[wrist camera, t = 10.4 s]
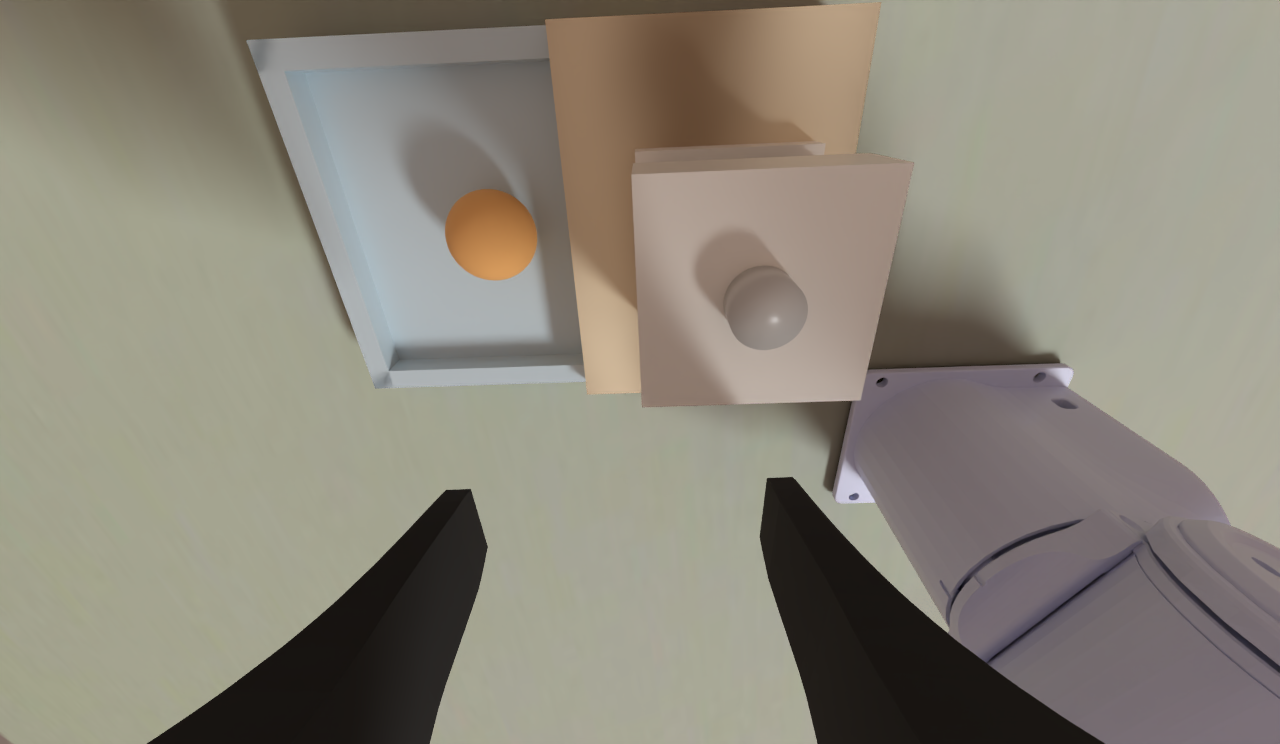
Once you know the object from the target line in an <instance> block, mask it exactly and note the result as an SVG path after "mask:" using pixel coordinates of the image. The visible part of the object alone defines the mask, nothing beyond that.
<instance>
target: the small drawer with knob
mask: <svg viewBox="0 0 1280 744" xmlns="http://www.w3.org/2000/svg"><path fill="white" fill-rule="evenodd" d="M825 145H826V143H821V142H817V141H803V142H781V143H758V144H735V145H713V146H690V147H667V148H644V149H635V163H633V167H632V173H631V179H632V201H633V222H634V244H635V266H636V288H637V310H638V332H639V353H640V375H641V397H642V407H666V406H698V405H729V404H761V403H793V402H825V401H857V400H861V396H862V392H863V387H864V383H865V379H866V374H867V370H868V365H869V361H870V356H871V352H872V348H873V343H874V339H875V334H876V330H877V325H878V321H879V317H880V312H881V308H882V303H883V299H884V294H885V290H886V286H887V281H888V277H889V272H890V268H891V264H892V259H893V255H894V250H895V246H896V241H897V237H898V233H899V228H900V224H901V219H902V215H903V210H904V206H905V202H906V197H907V193H908V188H909V184H910V179H911V175H912V171H913V166H914V162H910V161H905V160H901V159H896V158H891V157H887V156H882V155H877V154H873V153H858V154H835V155H824V152H825Z"/></svg>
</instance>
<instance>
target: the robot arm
mask: <svg viewBox="0 0 1280 744" xmlns="http://www.w3.org/2000/svg"><path fill="white" fill-rule="evenodd" d="M1038 373H1039V374H1038ZM1073 373H1074V371H1073V369H1072V368H1071V367H1069V366H1067V365H1066V364H1062V363H1055V364H1024V365H994V366H963V367H932V368H902V369H871V370H867V374H866V379H865V383H864V387H863V392H862V396H861V400H857V401H852V404H851V409H850V414H849V418H848V423H847V427H846V432H845V437H844V441H843V446H842V451H841V455H840V460H839V464H838V469H837V474H836V478H835V483H834V488H833V492H832V494H833V497H834V499H835V501H836V502H838V503H876V504H877V506H878V508H879V509H880V511H881V513H882V514H883V516H884V518H885V520H886V521H887V523H888V525H889V526H890V528H891V530H892V532H893V533H894V535H895V537H896V538H897V540H898V542H899V543H900V545H901V547H902V549H903V550H904V552H905V554H906V555H907V557H908V559H909V561H910V562H911V564H912V566H913V567H914V569H915V571H916V573H917V574H918V576H919V578H920V579H921V581H922V583H923V584H924V586H925V588H926V590H927V591H928V593H929V595H930V596H931V598H932V600H933V602H934V603H935V605H936V607H937V608H938V610H939V612H940V613H941V615H942V617H943V619H944V620H945V622H946V624H947V625H948V627H949V632H948V633H947V632H946V631H944V630H943V629H942V628H941V627H939V626H938V625H937V624H936V623H935V622H933V621H932V620H931V619H930V618H929V617H928V616H926V615H925V614H924V613H923V612H922V611H921V610H919V609H918V608H917V607H916V606H915V605H914V604H913V603H911V602H910V601H909V600H908V599H907V598H906V597H905V596H904V595H903V594H901V593H900V592H899V591H898V590H897V589H896V588H895V587H894V586H893V585H892V584H891V583H890V582H889V581H888V580H887V579H886V578H885V577H884V576H883V575H881V574H880V573H879V572H878V571H877V570H876V569H875V568H874V567H873V566H872V565H871V564H870V563H869V562H868V561H867V560H866V559H865V558H864V557H863V556H862V555H861V554H860V552H859V551H858V550H857V549H856V548H855V547H854V546H853V545H852V544H851V543H850V542H849V541H848V540H847V539H846V538H845V536H844V535H843V534H842V533H841V532H840V531H839V530H838V529H837V528H836V527H835V526H834V524H833V523H832V522H831V521H830V520H829V519H828V518H827V517H826V515H825V514H824V513H823V512H822V511H821V510H820V508H819V507H818V506H817V505H816V504H815V503H814V501H813V500H812V499H811V498H810V497H809V495H808V494H807V493H806V492H805V491H804V489H803V488H802V487H801V486H800V485H799V483H798V482H797V481H796V480H795V479H794V478H793V477H785V478H767V483H766V491H765V499H764V507H763V515H762V523H761V531H760V541H761V546H762V551H763V556H764V561H765V565H766V570H767V574H768V579H769V582H770V585H771V588H772V591H773V594H774V597H775V600H776V603H777V607H778V610H779V613H780V616H781V619H782V622H783V625H784V628H785V631H786V634H787V637H788V640H789V643H790V646H791V649H792V652H793V655H794V658H795V661H796V664H797V667H798V670H799V673H800V676H801V680H802V683H803V686H804V690H805V693H806V697H807V701H808V705H809V709H810V714H811V718H812V722H813V726H814V730H815V735H816V739H817V743H818V744H1280V549H1279V548H1277V547H1275V546H1274V545H1272V544H1270V543H1268V542H1266V541H1264V540H1262V539H1260V538H1258V537H1255V536H1253V535H1251V534H1249V533H1247V532H1245V531H1242V530H1240V529H1238V528H1235V527H1233V526H1231V525H1230V523H1229V520H1228V518H1227V516H1226V514H1225V512H1224V510H1223V508H1222V507H1221V505H1220V503H1219V502H1218V500H1217V499H1216V497H1215V496H1214V494H1213V493H1212V492H1211V491H1210V489H1209V488H1208V487H1207V486H1206V485H1205V483H1204V482H1203V481H1202V480H1201V479H1200V478H1199V477H1198V476H1196V475H1195V474H1194V473H1193V472H1192V471H1191V470H1189V469H1188V468H1187V467H1186V466H1184V465H1183V464H1181V463H1180V462H1178V461H1177V460H1175V459H1174V458H1172V457H1171V456H1169V455H1168V454H1166V453H1165V452H1163V451H1162V450H1160V449H1159V448H1157V447H1156V446H1154V445H1153V444H1151V443H1150V442H1148V441H1147V440H1145V439H1144V438H1142V437H1141V436H1139V435H1138V434H1136V433H1135V432H1133V431H1132V430H1130V429H1129V428H1127V427H1126V426H1124V425H1123V424H1121V423H1120V422H1118V421H1117V420H1115V419H1114V418H1112V417H1111V416H1109V415H1108V414H1106V413H1105V412H1103V411H1102V410H1100V409H1099V408H1097V407H1096V406H1094V405H1093V404H1091V403H1090V402H1088V401H1087V400H1085V399H1084V398H1082V397H1081V396H1079V395H1078V394H1076V393H1075V392H1073V391H1072V390H1070V389H1069V388H1067V387H1068V385H1069V383H1070V381H1071V379H1072V377H1073ZM1036 374H1038V375H1037V376H1036V377H1034V376H1035V375H1036ZM883 377H884V379H883V381H882V382H880V383H876V382H877V380H879V379H880V378H883ZM853 493H854V494H853ZM851 494H853V495H851ZM487 548H488V546H487V543H486V539H485V536H484V533H483V529H482V526H481V522H480V519H479V516H478V512H477V509H476V505H475V502H474V499H473V495H472V492H471V489H462V490H446V491H445V492H444V493H443V494H442V495H441V496H440V497H439V498H438V499H437V500H436V501H435V502H434V503H433V504H432V505H431V506H430V507H429V508H428V509H427V510H426V511H425V513H424V514H423V515H422V516H421V517H420V518H419V519H418V520H417V521H416V522H415V523H414V524H413V525H412V526H411V527H410V529H409V530H408V531H407V532H406V533H405V534H404V535H403V536H402V537H401V538H400V539H399V540H398V541H397V542H396V543H395V544H394V545H393V546H392V547H391V548H390V549H389V550H388V551H387V552H386V553H385V554H384V555H383V556H382V558H381V559H380V560H379V561H378V562H377V563H376V564H375V565H374V566H373V567H372V568H371V569H370V570H369V571H367V572H366V573H365V574H364V575H363V576H362V577H361V578H360V579H359V580H358V581H357V582H356V583H355V584H354V585H353V586H352V587H351V588H350V589H349V590H348V591H347V592H345V593H344V594H343V595H342V596H341V597H340V598H339V599H338V600H337V601H336V602H335V603H334V604H332V605H331V606H330V607H329V608H328V609H327V610H326V611H325V612H323V613H322V614H321V615H320V616H319V617H318V618H317V619H315V620H314V621H313V622H312V623H311V624H309V625H308V626H307V627H306V628H305V629H303V630H302V631H301V632H300V633H299V634H297V635H296V636H295V637H294V638H293V639H291V640H290V641H289V642H288V643H286V644H285V645H284V646H283V647H282V648H280V649H279V650H278V651H276V652H275V653H274V654H272V655H271V656H270V657H268V658H267V659H266V660H264V661H263V662H262V663H261V664H259V665H258V666H257V667H255V668H254V669H253V670H251V671H250V672H249V673H247V674H246V675H245V676H243V677H242V678H241V679H239V680H238V681H237V682H235V683H234V684H233V685H231V686H230V687H229V688H227V689H226V690H225V691H223V692H222V693H221V694H219V695H218V696H216V697H215V698H213V699H212V700H211V701H209V702H208V703H206V704H205V705H203V706H202V707H201V708H199V709H198V710H196V711H195V712H193V713H192V714H191V715H189V716H188V717H186V718H185V719H183V720H182V721H180V722H179V723H177V724H176V725H174V726H173V727H171V728H170V729H168V730H167V731H165V732H164V733H162V734H161V735H159V736H158V737H156V738H155V739H153V740H152V741H150V742H149V743H147V744H430V740H431V736H432V732H433V728H434V724H435V720H436V716H437V712H438V708H439V705H440V701H441V698H442V695H443V692H444V688H445V685H446V682H447V679H448V677H449V674H450V671H451V668H452V665H453V662H454V659H455V656H456V653H457V651H458V648H459V645H460V642H461V639H462V636H463V633H464V630H465V628H466V625H467V622H468V619H469V616H470V613H471V610H472V607H473V604H474V601H475V598H476V595H477V592H478V589H479V585H480V581H481V576H482V572H483V567H484V563H485V558H486V553H487Z"/></svg>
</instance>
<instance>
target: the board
mask: <svg viewBox="0 0 1280 744" xmlns="http://www.w3.org/2000/svg"><path fill="white" fill-rule="evenodd" d="M880 7H881V2H878V3H858V4H838V5H818V6H799V7H779V8H759V9H739V10H720V11H700V12H680V13H660V14H640V15H621V16H601V17H581V18H561V19H545V24H546V33H547V41H548V50H549V59H550V68H551V77H552V86H553V95H554V104H555V113H556V121H557V130H558V139H559V148H560V157H561V166H562V175H563V184H564V193H565V201H566V210H567V219H568V228H569V237H570V246H571V255H572V264H573V273H574V281H575V290H576V299H577V308H578V317H579V326H580V335H581V344H582V353H583V361H584V370H585V379H586V388H587V394H615V393H641V375H640V353H639V332H638V310H637V288H636V266H635V244H634V222H633V201H632V179H631V173H632V167H633V163H635V149H644V148H667V147H690V146H713V145H735V144H758V143H781V142H803V141H817V142H821V143H826V145H825V152H824V155H835V154H856V149H857V143H858V137H859V131H860V125H861V119H862V113H863V108H864V102H865V96H866V90H867V84H868V78H869V72H870V66H871V60H872V54H873V48H874V42H875V36H876V30H877V24H878V19H879V13H880Z"/></svg>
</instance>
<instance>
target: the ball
mask: <svg viewBox="0 0 1280 744" xmlns="http://www.w3.org/2000/svg"><path fill="white" fill-rule="evenodd" d="M445 237H446V242H447V246H448V249H449V251H450V253H451V255H452V256H453V258H454V259H455V261H456V262H457V263H458V264H459V265H460V266H461V267H462V268H463V269H464V270H465V271H467V272H468V273H470V274H472V275H474V276H476V277H478V278H482V279H485V280H504V279H508V278H511V277H513V276H515V275H517V274H519V273H520V272H522V271H523V270H524V269H525V268H526V267H527V266H528V265H529V263H530V262H531V260H532V258H533V256H534V254H535V251H536V247H537V230H536V226H535V223H534V220H533V218H532V216H531V214H530V213H529V211H528V210H527V208H526V207H525V206H524V205H523V204H522V203H521V202H520V201H519V200H518V199H516V198H515V197H513V196H512V195H510V194H508V193H506V192H503V191H499V190H495V189H480V190H475V191H472V192H470V193H468V194H466V195H464V196H463V197H461V198H460V199H459V200H458V201H457V202H456V203H455V204H454V205H453V207H452V208H451V210H450V212H449V214H448V216H447V220H446V224H445Z"/></svg>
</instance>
